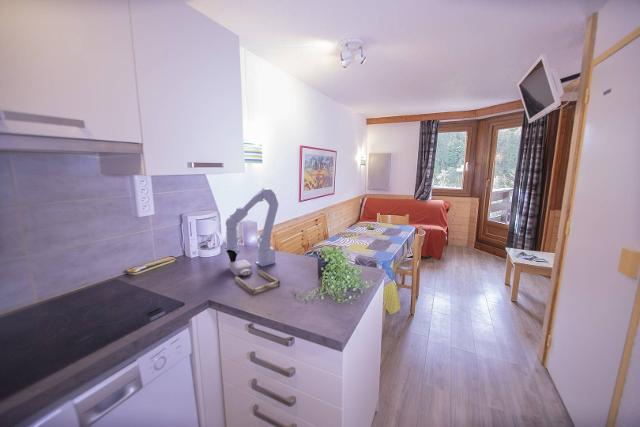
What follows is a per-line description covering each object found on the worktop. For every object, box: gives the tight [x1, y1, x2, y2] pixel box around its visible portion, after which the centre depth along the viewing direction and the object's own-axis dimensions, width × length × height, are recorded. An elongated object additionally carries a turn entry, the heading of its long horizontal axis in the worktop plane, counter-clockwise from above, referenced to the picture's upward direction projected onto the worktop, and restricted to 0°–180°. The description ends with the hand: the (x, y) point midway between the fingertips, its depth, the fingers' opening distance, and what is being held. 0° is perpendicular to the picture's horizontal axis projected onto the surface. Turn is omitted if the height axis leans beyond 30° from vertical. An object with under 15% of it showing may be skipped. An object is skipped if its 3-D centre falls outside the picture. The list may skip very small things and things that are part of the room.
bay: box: [234, 269, 281, 295], centre depth 127 cm, size 14×18×2 cm
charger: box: [229, 259, 253, 277], centre depth 138 cm, size 5×9×15 cm
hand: (232, 262), depth 146 cm, fingers closed
